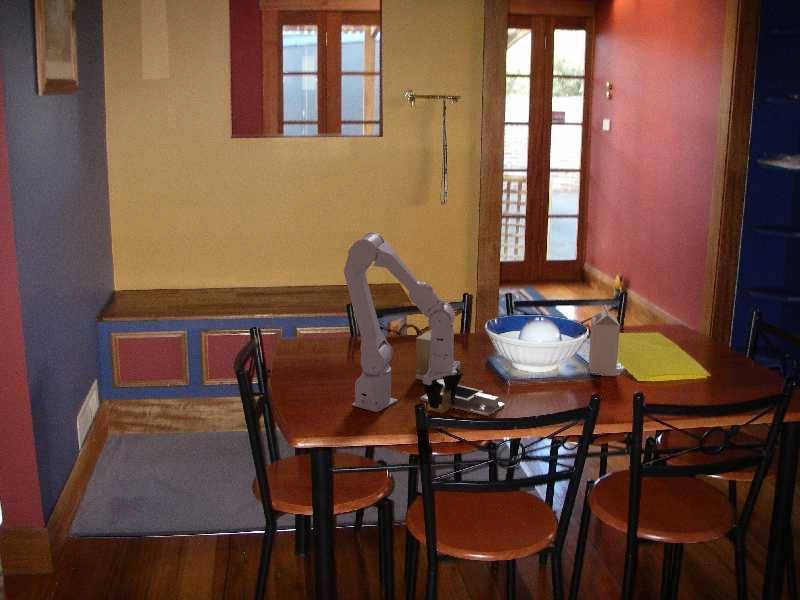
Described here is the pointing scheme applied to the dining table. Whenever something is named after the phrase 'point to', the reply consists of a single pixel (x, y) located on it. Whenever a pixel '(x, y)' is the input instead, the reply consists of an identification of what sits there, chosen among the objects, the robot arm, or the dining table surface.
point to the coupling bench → (472, 400)
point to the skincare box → (423, 355)
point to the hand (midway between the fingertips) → (442, 403)
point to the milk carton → (604, 343)
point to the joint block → (443, 401)
